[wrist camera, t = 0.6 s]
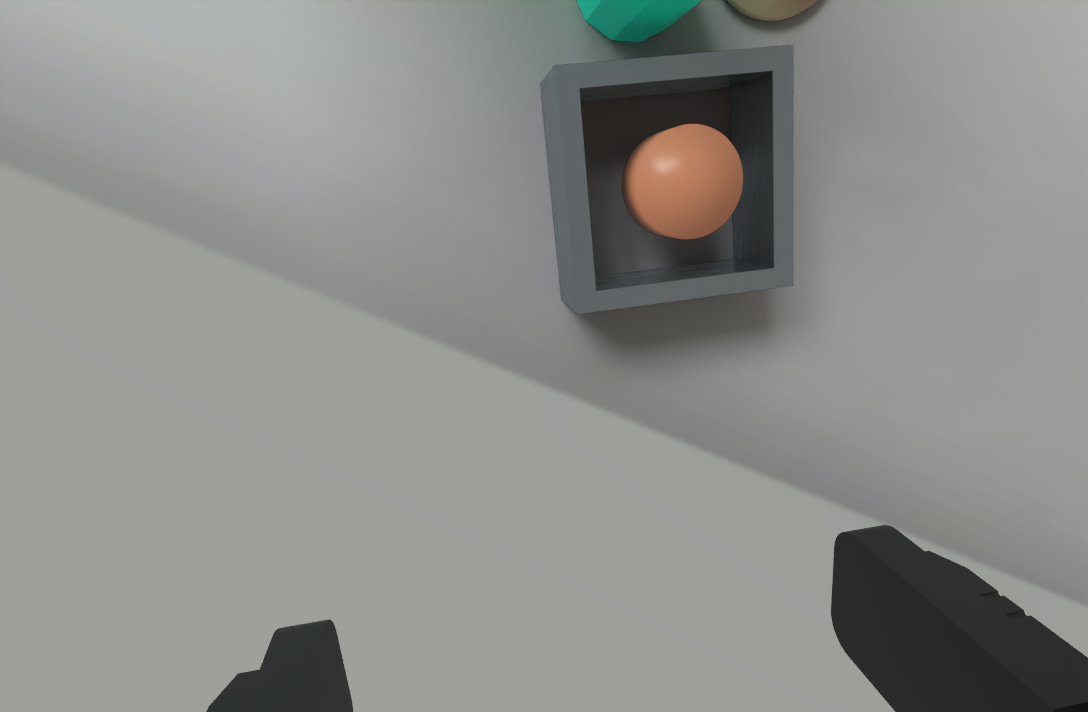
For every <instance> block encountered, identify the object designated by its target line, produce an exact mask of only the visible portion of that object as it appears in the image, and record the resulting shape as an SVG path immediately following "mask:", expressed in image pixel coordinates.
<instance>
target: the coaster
mask: <svg viewBox="0 0 1088 712" xmlns="http://www.w3.org/2000/svg"><path fill="white" fill-rule="evenodd" d="M726 1H727V2H728V3H729V4H730V5H731V6H732V7H733V8H735V9H736V10H737V11H739V12H740V13H742V14H744V15H746V16H748V17H750V18H753V19H756V20H761V21H778V20H784V19H787V18H790V17H792V16H794V15H796V14H798V13H800V12H802V11H804V10H806V9H807V8H809V7H810V6H812V5H813V4H814V3H815V2H817V1H818V0H726Z"/></svg>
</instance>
